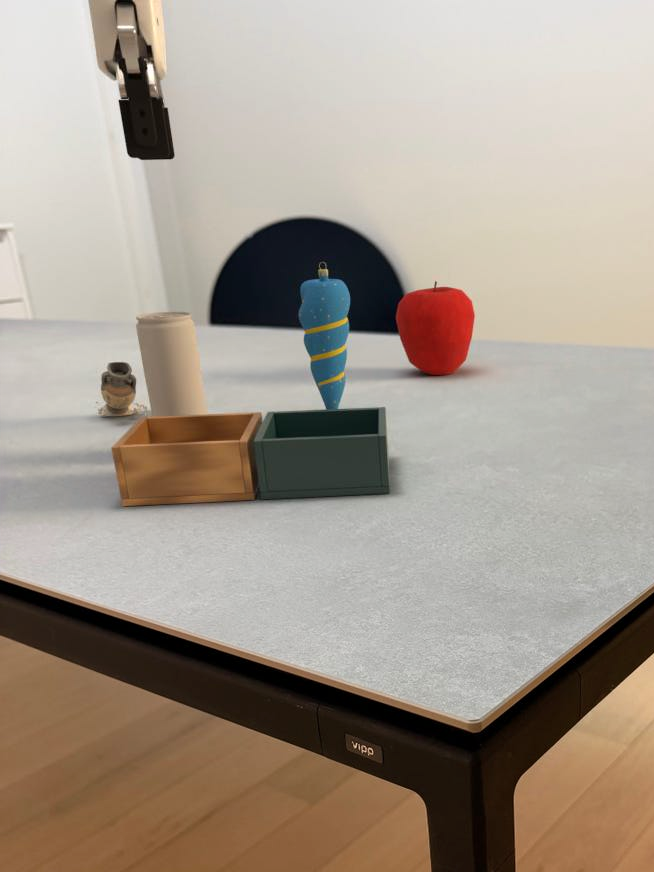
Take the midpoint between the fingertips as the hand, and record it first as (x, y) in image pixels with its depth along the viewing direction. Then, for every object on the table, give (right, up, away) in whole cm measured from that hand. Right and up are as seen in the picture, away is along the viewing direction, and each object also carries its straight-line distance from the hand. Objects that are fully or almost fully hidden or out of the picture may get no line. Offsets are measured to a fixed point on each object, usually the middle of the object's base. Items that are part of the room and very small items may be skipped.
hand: (153, 158), depth 80 cm
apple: (+22, -7, +40) cm, 46 cm away
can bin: (+15, -27, -1) cm, 31 cm away
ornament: (+12, -17, +19) cm, 29 cm away
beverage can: (0, -23, +7) cm, 25 cm away
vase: (-10, -17, +20) cm, 28 cm away
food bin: (+4, -28, -2) cm, 28 cm away
